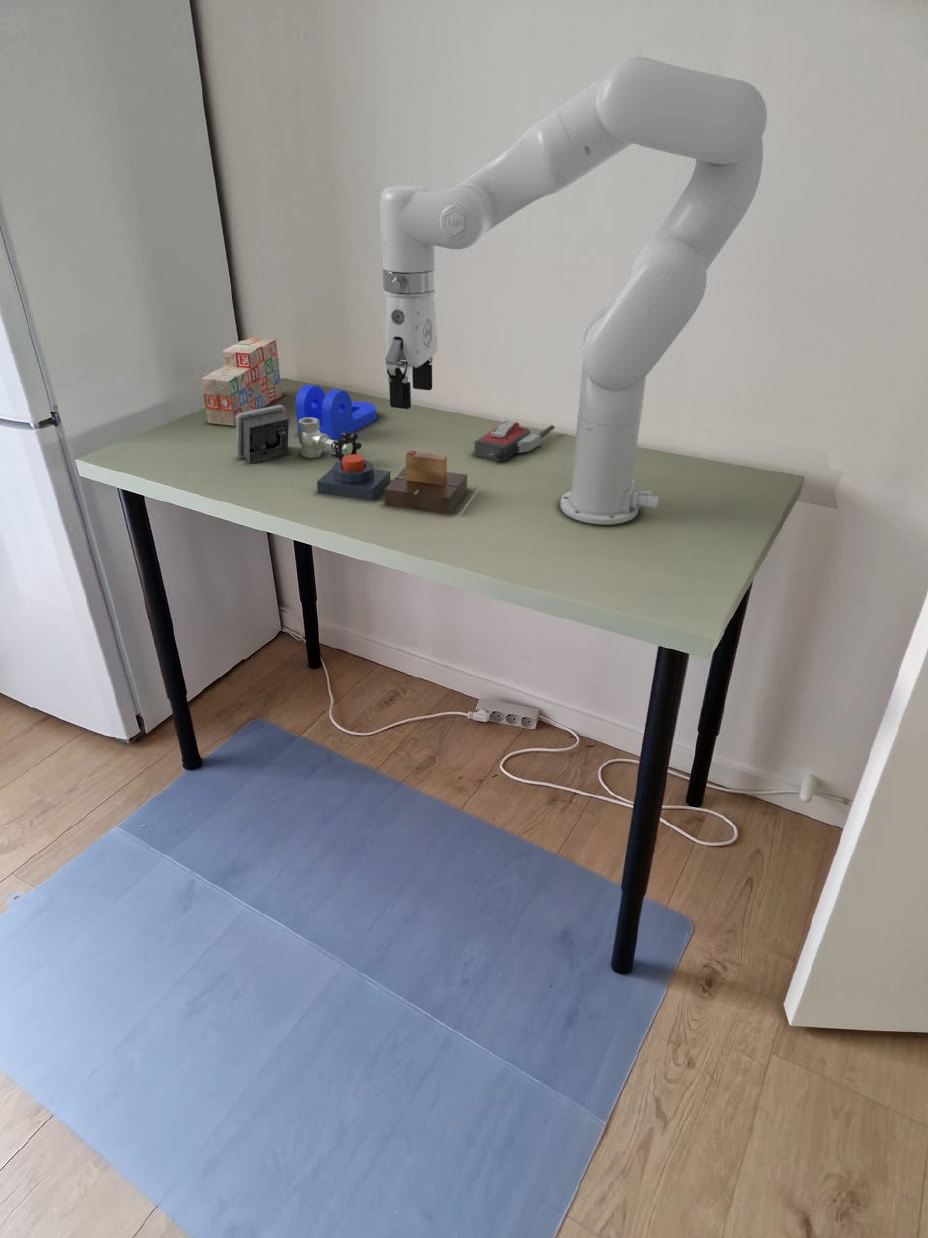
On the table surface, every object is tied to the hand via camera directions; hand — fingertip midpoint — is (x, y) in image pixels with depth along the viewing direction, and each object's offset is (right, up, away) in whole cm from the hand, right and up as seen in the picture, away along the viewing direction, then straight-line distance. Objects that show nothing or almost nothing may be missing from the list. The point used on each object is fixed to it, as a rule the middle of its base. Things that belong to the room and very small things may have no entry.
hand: (411, 398), depth 127 cm
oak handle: (+2, -12, +6) cm, 14 cm away
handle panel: (+2, -15, +8) cm, 17 cm away
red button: (-10, -9, +9) cm, 17 cm away
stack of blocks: (-38, +10, +45) cm, 59 cm away
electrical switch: (-28, -5, +23) cm, 36 cm away
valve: (-17, -6, +21) cm, 28 cm away
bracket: (-16, +4, +37) cm, 41 cm away
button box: (-10, -12, +11) cm, 20 cm away
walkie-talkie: (+18, -2, +28) cm, 34 cm away
